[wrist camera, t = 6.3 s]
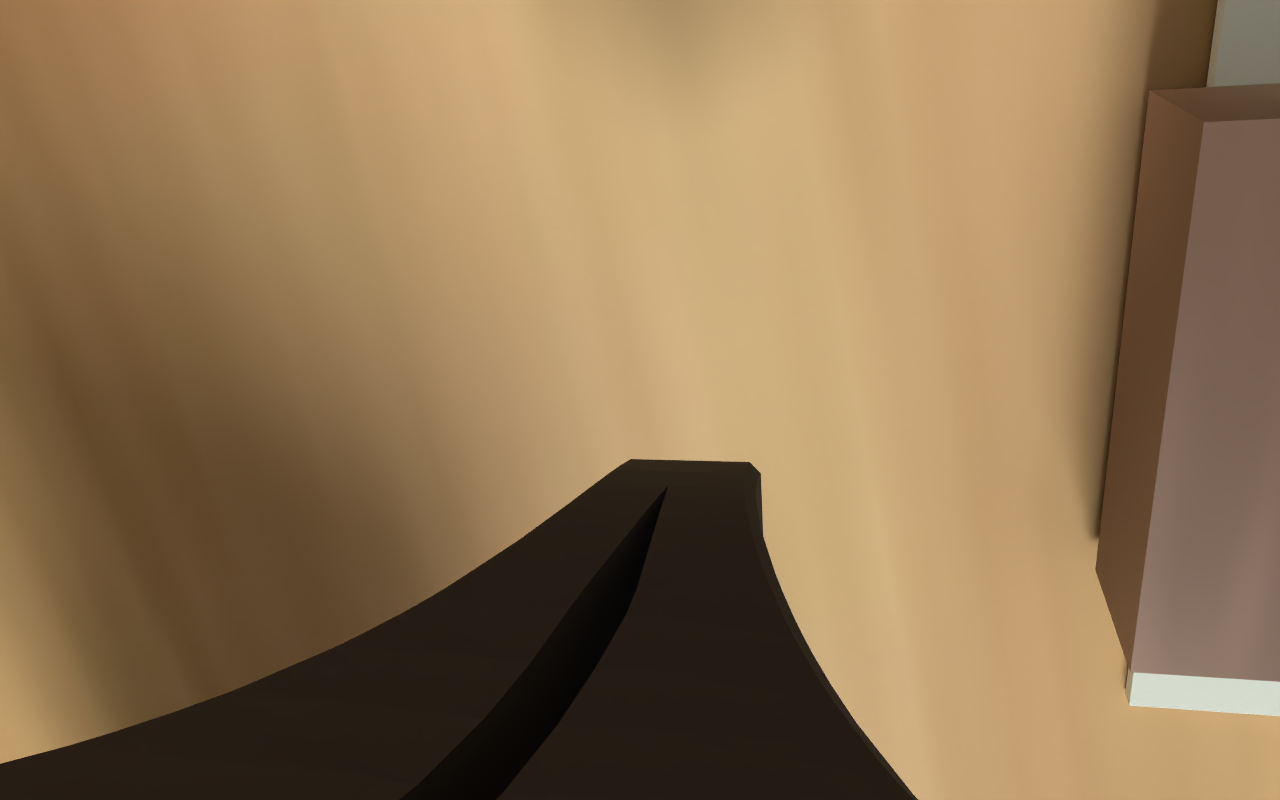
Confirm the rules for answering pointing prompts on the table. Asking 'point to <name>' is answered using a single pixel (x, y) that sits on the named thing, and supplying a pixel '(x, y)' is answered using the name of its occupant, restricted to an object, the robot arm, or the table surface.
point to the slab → (1200, 395)
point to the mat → (1240, 55)
